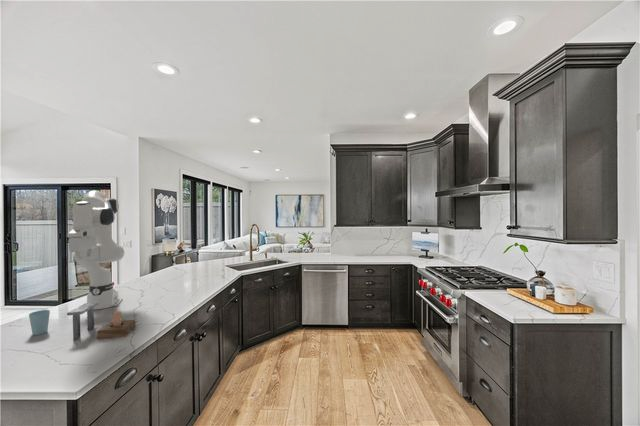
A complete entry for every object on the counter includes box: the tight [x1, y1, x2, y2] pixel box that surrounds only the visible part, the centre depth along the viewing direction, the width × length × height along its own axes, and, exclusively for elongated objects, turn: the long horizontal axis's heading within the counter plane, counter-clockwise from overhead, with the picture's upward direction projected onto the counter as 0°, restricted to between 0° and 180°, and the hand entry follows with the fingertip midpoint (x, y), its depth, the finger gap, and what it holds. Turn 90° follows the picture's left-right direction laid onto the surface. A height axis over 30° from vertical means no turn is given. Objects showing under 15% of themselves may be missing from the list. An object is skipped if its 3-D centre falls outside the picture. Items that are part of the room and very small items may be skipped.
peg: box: [112, 311, 122, 327], centre depth 147 cm, size 3×3×10 cm
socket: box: [96, 319, 137, 340], centre depth 147 cm, size 12×12×4 cm
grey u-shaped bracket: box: [66, 302, 98, 341], centre depth 147 cm, size 15×6×13 cm, turn 12°
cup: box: [28, 309, 51, 336], centre depth 149 cm, size 8×8×10 cm
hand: (84, 258), depth 157 cm, fingers open, 8 cm apart
